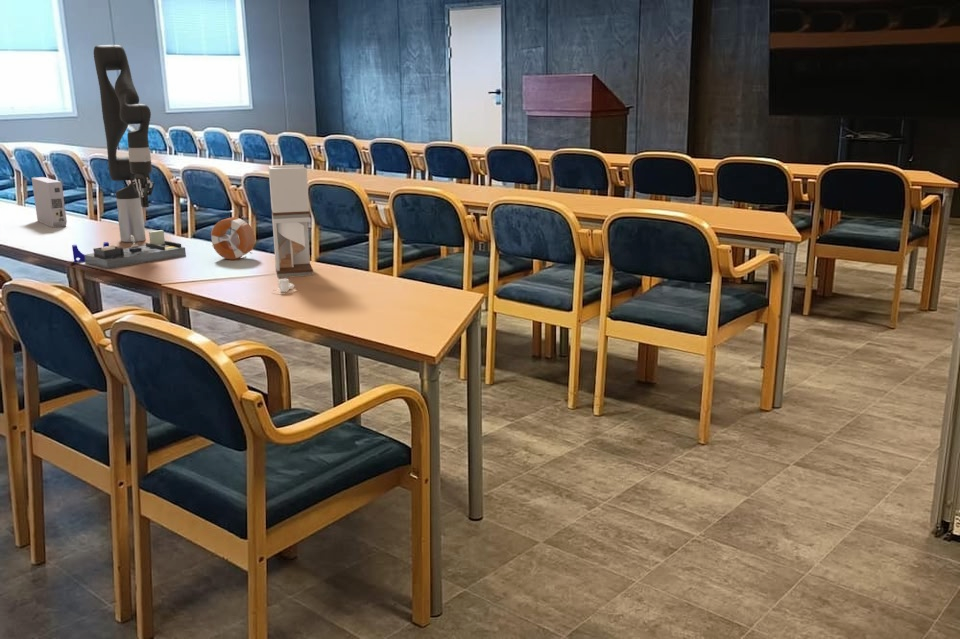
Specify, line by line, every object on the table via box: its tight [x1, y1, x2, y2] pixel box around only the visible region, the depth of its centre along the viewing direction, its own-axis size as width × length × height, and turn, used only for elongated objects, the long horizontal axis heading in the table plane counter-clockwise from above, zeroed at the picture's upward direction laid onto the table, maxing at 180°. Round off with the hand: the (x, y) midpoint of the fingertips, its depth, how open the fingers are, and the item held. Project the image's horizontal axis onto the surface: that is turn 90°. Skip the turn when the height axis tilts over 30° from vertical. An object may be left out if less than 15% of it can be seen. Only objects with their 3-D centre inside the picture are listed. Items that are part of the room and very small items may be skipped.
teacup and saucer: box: [277, 278, 295, 293], centre depth 270 cm, size 9×8×4 cm
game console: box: [31, 176, 68, 228], centre depth 398 cm, size 6×27×20 cm, turn 40°
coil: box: [210, 215, 256, 261], centre depth 318 cm, size 7×15×15 cm, turn 78°
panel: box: [84, 240, 187, 270], centre depth 320 cm, size 16×30×6 cm, turn 139°
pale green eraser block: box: [148, 229, 166, 245], centre depth 330 cm, size 2×5×5 cm, turn 139°
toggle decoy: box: [130, 235, 140, 248], centre depth 320 cm, size 1×2×5 cm, turn 139°
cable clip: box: [71, 241, 110, 263], centre depth 320 cm, size 12×4×6 cm, turn 117°
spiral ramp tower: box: [268, 164, 314, 278], centre depth 291 cm, size 11×11×35 cm
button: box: [100, 245, 115, 250], centre depth 312 cm, size 4×4×3 cm
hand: (145, 207), depth 331 cm, fingers closed
